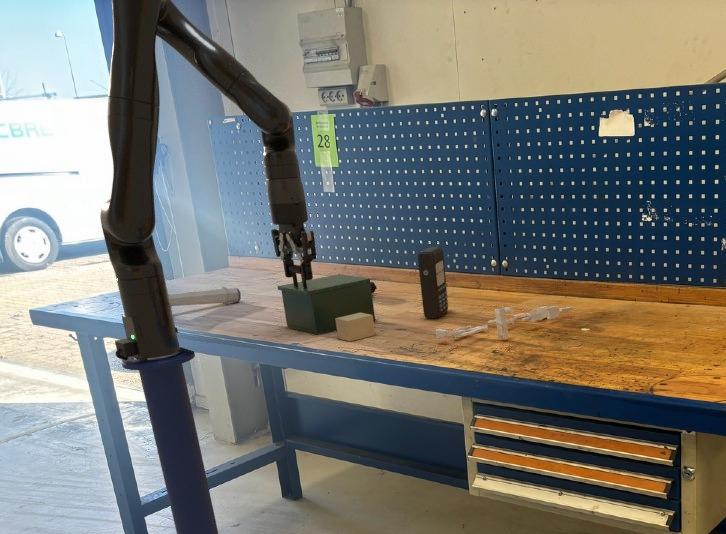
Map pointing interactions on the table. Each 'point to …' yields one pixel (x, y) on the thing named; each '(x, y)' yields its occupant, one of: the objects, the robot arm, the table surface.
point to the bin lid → (320, 282)
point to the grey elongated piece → (505, 321)
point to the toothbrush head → (206, 297)
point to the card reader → (433, 282)
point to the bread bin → (326, 307)
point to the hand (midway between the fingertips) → (299, 278)
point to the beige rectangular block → (355, 326)
